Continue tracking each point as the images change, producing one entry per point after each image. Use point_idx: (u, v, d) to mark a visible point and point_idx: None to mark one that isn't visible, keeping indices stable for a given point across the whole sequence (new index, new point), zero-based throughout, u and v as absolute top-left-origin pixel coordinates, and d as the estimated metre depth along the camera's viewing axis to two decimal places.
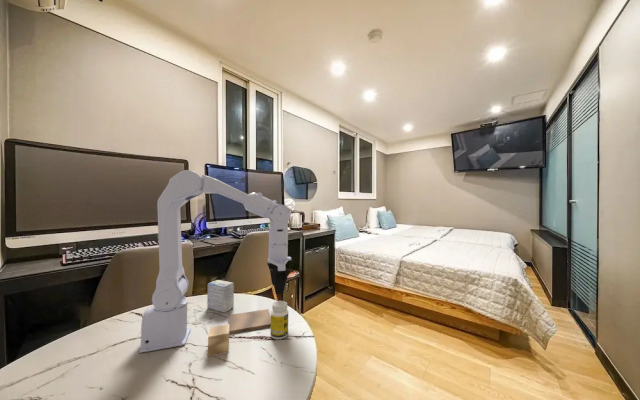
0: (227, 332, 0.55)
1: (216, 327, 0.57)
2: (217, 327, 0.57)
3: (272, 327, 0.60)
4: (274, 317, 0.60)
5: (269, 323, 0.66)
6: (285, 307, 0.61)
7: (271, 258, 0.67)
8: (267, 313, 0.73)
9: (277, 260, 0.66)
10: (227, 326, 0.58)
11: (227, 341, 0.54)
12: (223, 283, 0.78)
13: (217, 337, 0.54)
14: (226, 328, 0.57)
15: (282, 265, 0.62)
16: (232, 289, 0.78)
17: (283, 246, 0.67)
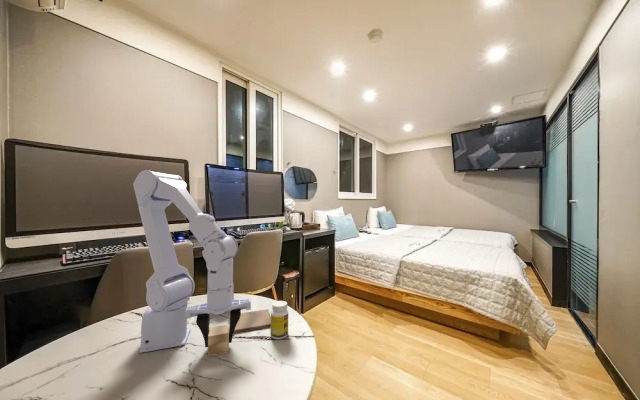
0: (227, 331, 0.55)
1: (216, 327, 0.57)
2: (217, 326, 0.57)
3: (272, 327, 0.60)
4: (274, 317, 0.60)
5: (269, 323, 0.66)
6: (285, 307, 0.61)
7: None
8: (267, 313, 0.73)
9: None
10: (227, 326, 0.58)
11: (227, 341, 0.54)
12: None
13: (218, 337, 0.54)
14: (226, 328, 0.57)
15: (186, 311, 0.53)
16: None
17: (208, 291, 0.54)
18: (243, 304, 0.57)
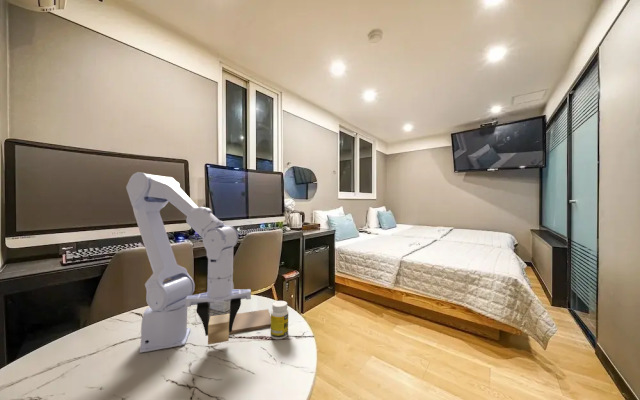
0: (227, 320, 0.55)
1: (216, 316, 0.57)
2: (218, 316, 0.57)
3: (272, 327, 0.60)
4: (274, 317, 0.60)
5: (269, 323, 0.66)
6: (285, 307, 0.61)
7: None
8: (267, 313, 0.73)
9: None
10: (227, 315, 0.58)
11: (227, 330, 0.55)
12: None
13: (218, 326, 0.54)
14: (226, 317, 0.57)
15: (186, 299, 0.54)
16: None
17: (208, 280, 0.54)
18: (243, 293, 0.57)
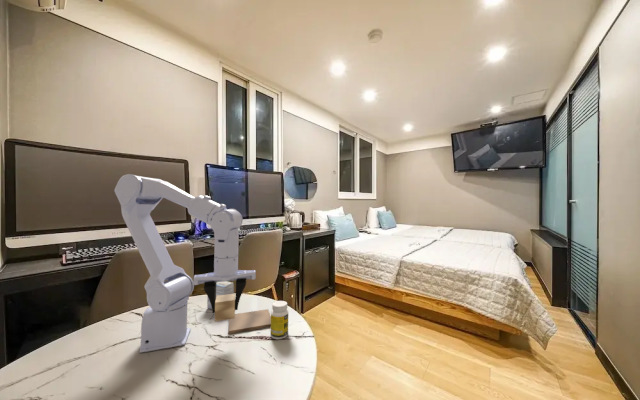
0: (233, 299, 0.57)
1: (222, 295, 0.59)
2: (224, 295, 0.60)
3: (272, 327, 0.60)
4: (274, 317, 0.60)
5: (269, 323, 0.66)
6: (285, 307, 0.61)
7: None
8: (267, 313, 0.73)
9: None
10: (233, 295, 0.60)
11: (233, 307, 0.57)
12: (223, 283, 0.78)
13: (224, 303, 0.56)
14: (232, 296, 0.59)
15: (194, 278, 0.56)
16: (232, 289, 0.78)
17: (214, 259, 0.56)
18: (248, 273, 0.59)
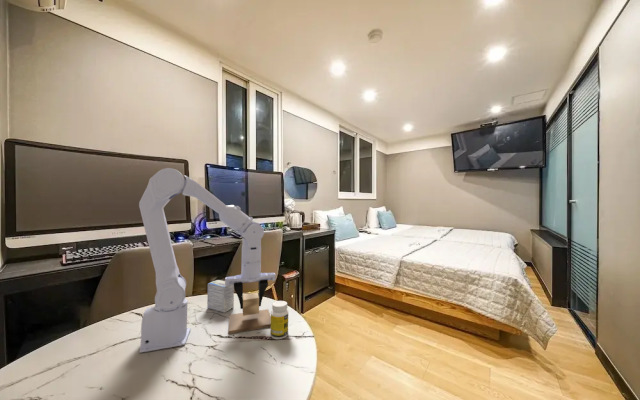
0: (258, 297, 0.68)
1: (247, 294, 0.70)
2: (249, 294, 0.70)
3: (272, 327, 0.60)
4: (274, 317, 0.60)
5: (269, 323, 0.66)
6: (285, 307, 0.61)
7: None
8: (267, 313, 0.73)
9: (241, 276, 0.69)
10: (256, 293, 0.71)
11: (258, 304, 0.68)
12: (223, 283, 0.78)
13: (250, 301, 0.67)
14: (256, 295, 0.70)
15: (225, 279, 0.67)
16: (232, 289, 0.78)
17: (242, 264, 0.67)
18: (269, 275, 0.70)
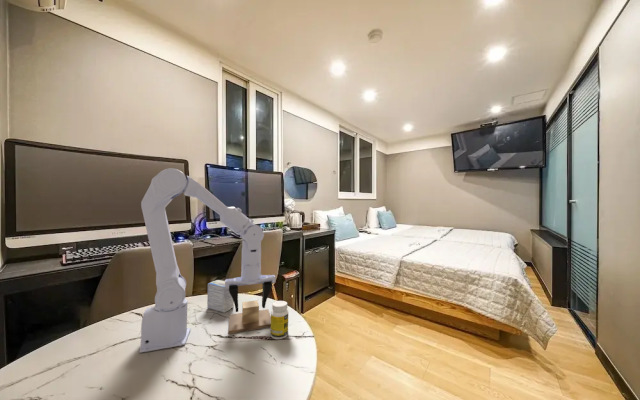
0: (257, 305, 0.68)
1: (247, 302, 0.70)
2: (248, 302, 0.70)
3: (272, 327, 0.60)
4: (274, 317, 0.60)
5: (269, 323, 0.66)
6: (285, 307, 0.61)
7: None
8: (267, 313, 0.73)
9: (240, 278, 0.69)
10: (256, 301, 0.71)
11: (257, 312, 0.67)
12: (223, 283, 0.78)
13: (250, 309, 0.67)
14: (255, 303, 0.70)
15: (225, 282, 0.67)
16: None
17: (242, 266, 0.67)
18: (269, 278, 0.70)
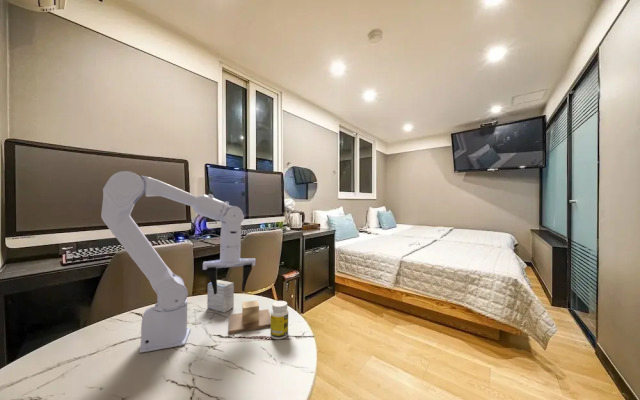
0: (257, 305, 0.68)
1: (247, 302, 0.70)
2: (248, 302, 0.70)
3: (272, 327, 0.60)
4: (274, 317, 0.60)
5: (269, 323, 0.66)
6: (285, 307, 0.61)
7: None
8: (267, 313, 0.73)
9: None
10: (256, 301, 0.71)
11: (257, 312, 0.67)
12: (223, 283, 0.78)
13: (250, 309, 0.67)
14: (255, 303, 0.70)
15: (203, 264, 0.66)
16: (232, 289, 0.78)
17: (220, 248, 0.66)
18: (249, 260, 0.69)
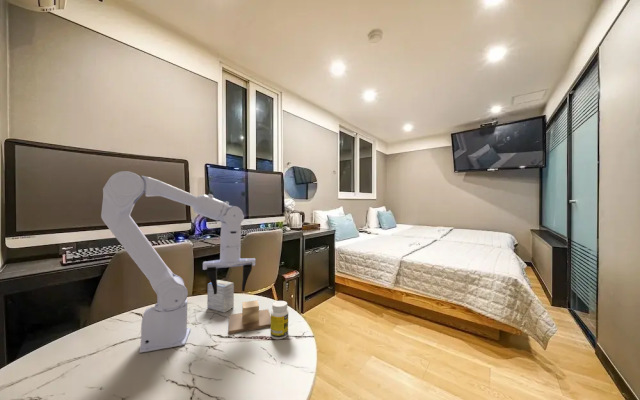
0: (257, 305, 0.68)
1: (247, 302, 0.70)
2: (248, 302, 0.70)
3: (272, 327, 0.60)
4: (274, 317, 0.60)
5: (269, 323, 0.66)
6: (285, 307, 0.61)
7: None
8: (267, 313, 0.73)
9: None
10: (256, 301, 0.71)
11: (257, 312, 0.67)
12: (223, 283, 0.78)
13: (250, 309, 0.67)
14: (255, 303, 0.70)
15: (203, 264, 0.66)
16: (232, 289, 0.78)
17: (220, 248, 0.66)
18: (249, 260, 0.69)
